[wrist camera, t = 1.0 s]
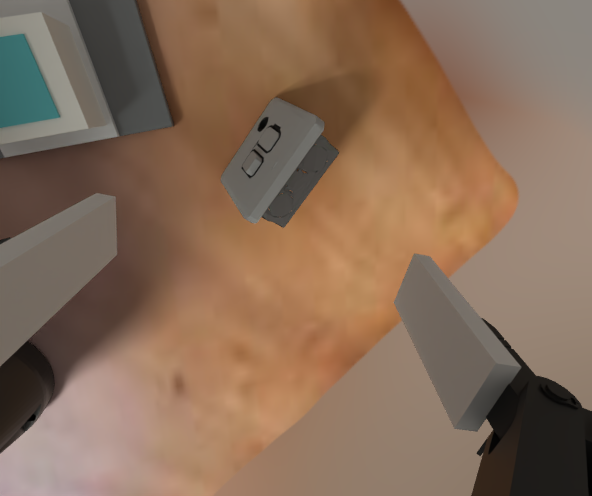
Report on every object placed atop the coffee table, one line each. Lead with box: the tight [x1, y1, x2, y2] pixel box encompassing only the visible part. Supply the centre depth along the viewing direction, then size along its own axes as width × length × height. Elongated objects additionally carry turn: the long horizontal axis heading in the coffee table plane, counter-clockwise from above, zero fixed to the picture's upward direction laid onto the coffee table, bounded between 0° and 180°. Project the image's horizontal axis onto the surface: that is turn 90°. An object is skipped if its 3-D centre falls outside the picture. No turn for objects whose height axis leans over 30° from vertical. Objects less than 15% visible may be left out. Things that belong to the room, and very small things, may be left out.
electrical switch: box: [220, 97, 339, 227], centre depth 28 cm, size 9×5×9 cm, turn 143°
